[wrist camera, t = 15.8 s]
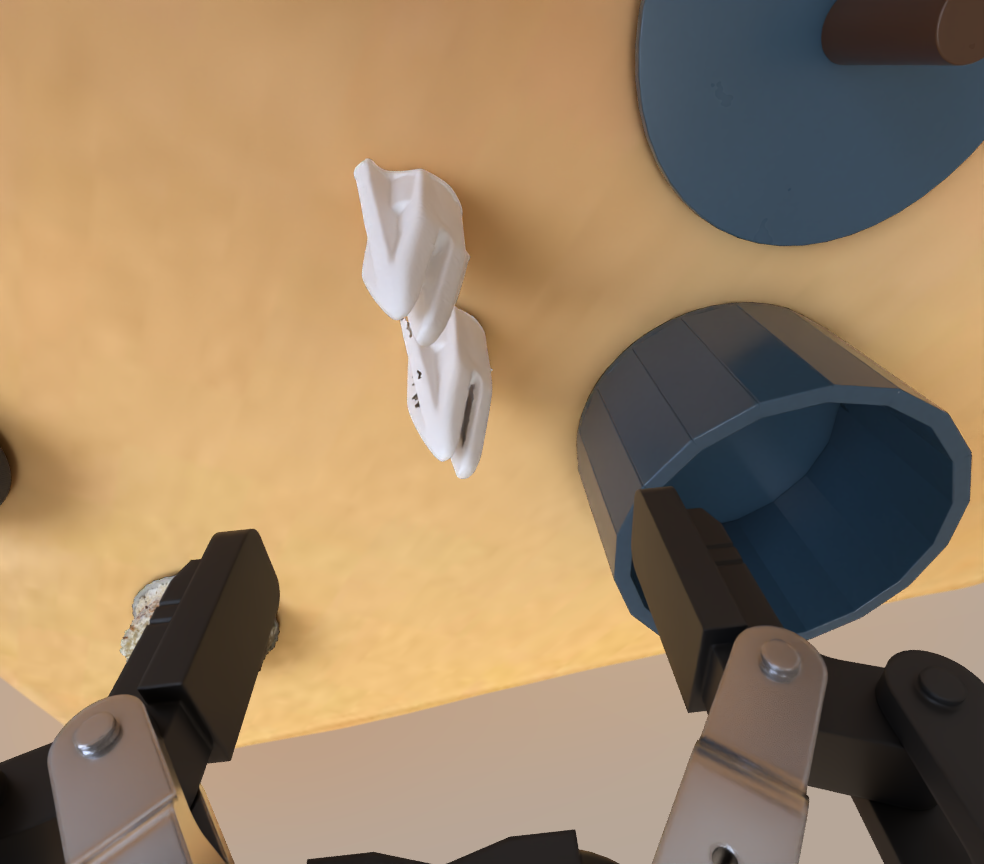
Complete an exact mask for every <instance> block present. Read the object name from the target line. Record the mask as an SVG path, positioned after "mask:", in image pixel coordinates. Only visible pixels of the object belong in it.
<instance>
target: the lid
mask: <svg viewBox="0 0 984 864" xmlns="http://www.w3.org/2000/svg"><path fill="white" fill-rule="evenodd" d="M635 80H636V89H637V98H638V107H639V111H640V116H641V120H642V124H643V128H644V132H645V136H646V139H647V141H648V144H649V147H650V149H651V152H652V154H653V157H654V160H655V161H656V163H657V165H658V167H659V169H660V170H661V172H662V174H663V176H664V178H665V179H666V181H667V183H668V184H669V185H670V186H671V188H672V189H673V190H674V192H675V193H676V194H677V195H678V197H679V198H680V199H681V200H682V201H683V202H684V203H685V204H686V205H687V206H688V207H689V208H690V209H691V210H692V211H693V212H694V213H696V214H697V215H698V216H700V217H701V218H703V219H704V220H706V221H707V222H708V223H710V224H711V225H713V226H714V227H716V228H718V229H720V230H722V231H724V232H726V233H728V234H731V235H733V236H735V237H737V238H741V239H744V240H748V241H751V242H755V243H759V244H767V245H776V246H803V245H809V244H816V243H822V242H828V241H831V240H835V239H838V238H842V237H845V236H849V235H852V234H854V233H857V232H859V231H862V230H864V229H867V228H869V227H872V226H874V225H876V224H878V223H880V222H882V221H884V220H886V219H888V218H889V217H891V216H893V215H895V214H897V213H899V212H900V211H902V210H903V209H905V208H906V207H908V206H910V205H911V204H913V203H914V202H916V201H917V200H919V199H920V198H922V197H923V196H924V195H926V194H927V193H928V192H929V191H931V190H932V189H933V188H934V187H936V186H937V185H938V184H940V183H941V182H942V181H943V180H945V179H946V178H947V177H948V176H949V175H950V174H951V173H952V172H953V171H954V170H956V169H957V168H958V167H959V166H960V165H961V164H962V163H963V162H964V161H965V160H966V159H967V158H968V157H969V156H970V155H971V154H972V153H973V152H974V151H975V150H976V149H977V147H978V146H979V145H980V144H981V143H982V142H983V141H984V0H641V4H640V8H639V15H638V25H637V34H636V43H635Z"/></svg>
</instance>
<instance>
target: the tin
mask: <svg viewBox="0 0 984 864" xmlns="http://www.w3.org/2000/svg"><path fill="white" fill-rule="evenodd" d="M971 453H972V452H971V451H970V449H969V447H968V445H967V444H966V442H965V440H964V439H963V437H962V435H961V434H960V432H959V430H958V429H957V427H956V425H955V424H954V422H953V420H952V418H951V417H950V415H949V414H948V413H947V412H946V411H944V410H943V409H941V408H940V407H939V406H937V405H936V404H934V403H933V402H931V401H930V400H928V399H927V398H926V397H924V396H923V395H921V394H920V393H918V392H917V391H916V390H914V389H913V388H911V387H910V386H908V385H907V384H905V383H904V382H903V381H901V380H900V379H898V378H897V377H895V376H894V375H893V374H891V373H890V372H888V371H887V370H885V369H884V368H882V367H881V366H880V365H878V364H877V363H875V362H874V361H872V360H871V359H870V358H868V357H867V356H865V355H864V354H862V353H861V352H859V351H858V350H857V349H855V348H854V347H852V346H851V345H849V344H848V343H847V342H845V341H844V340H842V339H841V338H839V337H838V336H837V335H835V334H834V333H832V332H831V331H829V330H828V329H826V328H824V327H823V326H821V325H819V324H817V323H815V322H813V321H811V320H810V319H808V318H806V317H805V316H803V315H801V314H799V313H797V312H794V311H792V310H790V309H789V308H783V307H779V306H775V305H771V304H764V303H754V302H742V303H727V304H721V305H714V306H709V307H706V308H702V309H698V310H695V311H691V312H689V313H686V314H684V315H681V316H679V317H676V318H674V319H671V320H670V321H668V322H666V323H664V324H662V325H660V326H658V327H657V328H655V329H653V330H651V331H650V332H649V333H647V334H646V335H644V336H643V337H641V338H640V339H638V340H637V341H636V342H634V343H633V344H632V345H631V346H630V347H629V348H627V349H626V350H625V351H624V352H623V353H622V354H620V356H619V357H618V358H617V359H616V360H615V361H614V362H613V363H612V364H611V365H610V366H609V367H608V369H607V370H606V371H605V373H604V374H603V375H602V377H601V378H600V379H599V381H598V382H597V384H596V385H595V387H594V389H593V391H592V393H591V394H590V396H589V398H588V400H587V402H586V405H585V407H584V410H583V413H582V415H581V419H580V423H579V428H578V434H577V459H578V471H579V474H580V477H581V480H582V483H583V486H584V489H585V492H586V495H587V498H588V501H589V504H590V508H591V511H592V514H593V517H594V520H595V523H596V526H597V529H598V532H599V535H600V538H601V541H602V544H603V547H604V550H605V553H606V556H607V560H608V563H609V566H610V569H611V572H612V575H613V578H614V581H615V583H616V585H617V587H618V589H619V591H620V593H621V595H622V597H623V599H624V601H625V603H626V606H627V608H628V610H629V612H630V614H631V615H632V616H634V617H635V618H636V619H638V620H639V621H640V622H642V623H643V624H644V625H646V626H647V627H648V628H650V629H651V630H652V631H654V632H655V633H657V634H658V635H659V633H658V631H657V628H656V625H655V622H654V620H653V617H652V614H651V612H650V609H649V606H648V604H647V601H646V598H645V596H644V593H643V590H642V587H641V585H640V582H639V579H638V577H637V574H636V571H635V568H634V564H633V559H632V551H631V536H632V523H633V509H634V496H635V492H636V490H638V489H648V488H657V487H667V486H672V487H674V488H675V490H676V491H677V493H678V495H679V497H680V499H681V500H682V502H683V504H684V506H685V508H686V509H693V508H702V509H704V510H705V511H706V512H707V513H709V514H710V515H711V516H712V517H714V518H715V519H716V520H718V521H719V522H720V523H721V524H722V526H723V527H724V529H725V531H726V532H727V534H728V536H729V537H730V539H731V541H732V542H733V547H736V549H737V551H738V552H739V554H740V556H741V557H742V561H743V563H745V564H746V566H747V567H748V569H749V571H750V572H751V574H752V576H753V577H754V579H755V581H756V582H757V584H758V586H759V587H760V589H761V591H762V592H763V594H764V596H765V598H766V599H767V601H768V603H769V604H770V606H771V608H772V609H773V611H774V613H775V614H776V616H777V618H778V619H779V621H780V623H781V624H782V625H783V627H784V628H785V629H787V630H790V631H792V632H794V633H796V634H798V635H799V636H801V637H803V638H804V639H805V640H809V639H812V638H814V637H816V636H819V635H821V634H824V633H826V632H828V631H831V630H833V629H836V628H838V627H840V626H843V625H845V624H847V623H850V622H852V621H855V620H857V619H859V618H861V617H863V616H865V615H866V614H868V613H869V612H871V611H872V610H874V609H875V608H877V607H878V606H880V605H881V604H883V603H884V602H886V601H887V600H889V599H890V598H892V597H893V596H895V595H896V594H898V593H899V592H900V591H902V590H903V589H905V588H906V587H908V586H909V585H910V584H911V583H912V582H913V581H914V580H915V579H916V578H917V577H918V576H919V575H920V574H921V573H922V572H923V570H924V569H925V568H926V567H927V566H928V565H929V564H930V563H931V562H932V561H933V560H934V559H935V558H936V557H937V556H938V555H939V554H940V552H941V551H942V550H943V549H944V548H945V547H946V546H947V545H948V543H949V541H950V539H951V537H952V535H953V533H954V531H955V529H956V527H957V525H958V523H959V521H960V519H961V517H962V515H963V513H964V511H965V509H966V507H967V505H968V503H969V501H970V486H971V461H972V455H971Z"/></svg>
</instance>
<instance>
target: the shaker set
mask: <svg viewBox="0 0 984 864" xmlns="http://www.w3.org/2000/svg"><path fill="white" fill-rule="evenodd" d="M354 178H355V179H356V182H357V188H358V192H359V198H360V202H361V207H362V213H363V218H364V224H365V228H366V232H367V237H368V240H367V246H366V251H365V256H364V261H363V268H362V278H363V281H364V283H365V285H366V288H367V289H368V291H369V293H370V294H371V296H372V297H373V299H374V300H375V301H376V303H377V304H378V305H379V306H380V307H381V309H382V310H383V311H384V312H385V313H386V314H387V315H388V316H389V317H391V318H392V319H394V320H400V323H401V327H402V332H403V337H404V341H405V345H406V349H407V354H408V388H407V404H408V411H409V414H410V416H411V418H412V421H413V423H414V425H415V427H416V429H417V431H418V433H419V434H420V436H421V438H422V439H423V441H424V442H425V444H426V446H427V447H428V448H429V450H430V451H431V452H432V454H433V455H434V456H435V457H436V458H437V459H438V460H440V461H446V460H448V459H450V458H451V461H452V464H453V467H454V470H455V472H456V475H457V477H458V478H460V479H465V478H468V477H470V476H471V475H472V474H473V473H474V471H475V470H476V467H477V465H478V463H479V460H480V457H481V453H482V448H483V443H484V438H485V433H486V427H487V422H488V416H489V410H490V404H491V398H492V378H491V371H492V370H493V369H491V368H490V363H489V356H488V350H487V343H486V336H485V332H484V330H483V328H482V326H481V325H480V324H479V323H478V321H477V319H475V318H474V317H473V316H472V315H469V314H468V313H467V312H465V311H462V310H461V309H459V310H458V308H457V307H455V304H456V301H457V298H458V295H459V293H460V290H461V287H462V283H463V279H464V276H465V272H466V269H467V265H468V261H469V260H470V255H469V254H468V252H467V251H466V248H465V239H464V230H463V222H462V214H463V212H462V206H461V203H460V201H459V199H458V197H457V195H456V194H455V192H454V190H453V189H452V188H451V187H450V186H449V185H448V184H447V183H446V182H445V181H443V180H442V179H440V178H439V177H437V176H436V175H434V174H432V173H430V172H428V171H426V170H424V169H414V170H407V171H389V170H385V169H382V168H380V167H379V166H378V165H377V164H376V163H375V162H374V161H373V160H371V159H367V158H366V159H365V160H364V161H362V162H361V163H360V164H358V165H357V166H356V168H355V171H354ZM406 316H407V317H408V321H409V322H407V321H406V318H405V319H404V317H406Z"/></svg>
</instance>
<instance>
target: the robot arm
mask: <svg viewBox="0 0 984 864" xmlns="http://www.w3.org/2000/svg"><path fill="white" fill-rule="evenodd" d="M631 551H632V559H633V564H634V568H635V571H636V574H637V577H638V579H639V582H640V585H641V587H642V590H643V593H644V596H645V598H646V601H647V604H648V606H649V609H650V612H651V614H652V617H653V620H654V622H655V625H656V628H657V631H658V633H659V636H660V639H661V641H662V644H663V647H664V649H665V652H666V655H667V657H668V660H669V663H670V665H671V668H672V670H673V674H674V676H675V679H676V682H677V684H678V687H679V690H680V692H681V695H682V698H683V700H684V703H685V706H686V709H687V711H688V713H691V712H700V711H707V714H708V717H707V721H706V723H705V726H704V729H703V731H702V734H701V737H700V739H699V740H697V742H696V744H695V746H694V749H693V751H692V753H691V756H690V759H689V762H688V764H687V767H686V770H685V773H684V776H683V778H682V781H681V784H680V787H679V789H678V792H677V795H676V798H675V801H674V803H673V806H672V809H671V812H670V814H669V817H668V820H667V823H666V826H665V828H664V831H663V834H662V837H661V840H660V842H659V845H658V848H657V851H656V854H655V857H654V859H653V862H652V864H798V863H799V857H800V853H801V847H802V842H803V836H804V830H805V825H806V820H807V814H808V807H809V797H808V796H807V795H806V792H807V786H812V787H816V788H820V789H825V790H829V791H833V792H837V793H842V794H846V795H850V796H851V797H852V799H853V801H854V803H855V805H856V807H857V809H858V811H859V813H860V815H861V817H862V820H863V822H864V823H865V826H866V828H867V830H868V832H869V834H870V836H871V838H872V840H873V842H874V844H875V846H876V848H877V850H878V852H879V854H880V856H881V858H882V860H883V862H884V864H984V683H983V682H981V680H980V679H979V678H978V677H976V676H975V675H974V674H973V673H972V672H970V671H969V670H968V669H966V668H965V667H963V666H962V665H960V664H958V663H957V662H955V661H952V660H951V659H948V658H946V657H944V656H941V655H938V654H935V653H931V652H928V651H921V650H908V651H902V652H900V653H897V654H895V655H894V656H892V657H891V658H890V659H889V661H888V663H887V665H886V667H885V668H882V667H877V666H871V665H866V664H860V663H854V662H849V661H843V660H838V659H834V658H830V657H827V656H824V655H821V654H819V652H818V651H817V650H816V649H815V647H814V646H812V645H811V644H810V643H809V642H808V641H807V640H805V639H804V638H803V637H801V636H799V635H798V634H796V633H794V632H792V631H790V630H787V629H785V628H784V627H783V625H782V624H781V623H780V621H779V619H778V618H777V616H776V614H775V613H774V611H773V609H772V608H771V606H770V604H769V603H768V601H767V599H766V598H765V596H764V594H763V592H762V591H761V589H760V587H759V586H758V584H757V582H756V581H755V579H754V577H753V576H752V574H751V572H750V571H749V569H748V567H747V566H746V564H745V563H743V561H742V557H741V556H740V554H739V552H738V551H737V549H736V547H733V542H732V541H731V539H730V537H729V536H728V534H727V532H726V531H725V529H724V527H723V526H722V524H721V523H720V522H719V521H718V520H716V519H715V518H714V517H712V516H711V515H710V514H709V513H707V512H706V511H705V510H704V509H702V508H693V509H686V508H685V506H684V504H683V502H682V500H681V499H680V497H679V495H678V493H677V491H676V490H675V488H674V487H672V486H667V487H657V488H648V489H638V490H636V492H635V496H634V509H633V523H632V536H631ZM279 600H280V590H279V583H278V579H277V576H276V574H275V571H274V569H273V566H272V564H271V561H270V559H269V556H268V554H267V552H266V549H265V547H264V544H263V542H262V539H261V537H260V535H259V533H258V532H257V531H256V530H255V529H246V530H237V531H227V532H218V533H216V534H214V536H213V537H212V539H211V540H210V542H209V544H208V546H207V548H206V550H205V552H204V554H203V556H202V558H201V559H197V560H191V561H190V562H189V563H188V564H187V565H186V566H185V567H184V568H183V569H182V570H181V571H180V572H179V573H178V574H177V575H176V576H175V577H174V578H173V579H172V580H171V581H170V583H169V585H168V586H167V588H166V590H165V592H164V594H163V596H162V598H161V599H160V601H159V607H156V609H155V611H154V613H153V614H152V616H151V618H150V620H149V621H150V624H149V625H147V626H146V627H145V629H144V631H143V633H142V635H141V637H140V639H139V640H138V642H137V644H136V646H135V648H134V650H133V652H132V653H131V655H130V657H129V659H128V661H127V663H126V665H125V667H124V668H123V670H122V672H121V674H120V676H119V678H118V680H117V681H116V683H115V685H114V687H113V689H112V691H111V693H110V694H109V696H108V697H106V698H104V699H101V700H99V701H97V702H95V703H93V704H91V705H89V706H88V707H86V708H85V709H83V710H82V711H80V712H79V713H78V714H77V715H75V716H74V717H73V718H72V719H71V720H70V721H69V722H68V723H67V724H66V725H65V726H64V727H63V728H62V730H61V731H60V732H59V734H58V735H57V736H56V738H55V740H54V741H53V742H52V743H50V744H48V745H45V746H42V747H40V748H37V749H34V750H32V751H29V752H27V753H24V754H22V755H19V756H16V757H14V758H11V759H9V760H6V761H4V762H1V763H0V864H234V861H233V858H232V856H231V853H230V851H229V849H228V846H227V844H226V841H225V839H224V836H223V834H222V831H221V829H220V827H219V824H218V822H217V819H216V817H215V814H214V812H213V810H212V807H211V805H210V802H209V800H208V797H207V795H206V792H205V790H204V788H203V786H202V785H201V783H200V782H201V779H202V777H203V774H204V771H205V768H206V765H207V763H216V762H225V761H230V760H231V758H232V755H233V752H234V748H235V745H236V742H237V739H238V736H239V732H240V729H241V726H242V723H243V720H244V716H245V713H246V710H247V707H248V704H249V700H250V697H251V694H252V691H253V687H254V684H255V681H256V678H257V675H258V671H259V668H260V665H261V662H262V659H263V655H264V652H265V649H266V646H267V643H268V639H269V636H270V633H271V630H272V627H273V623H274V620H275V617H276V614H277V610H278V607H279ZM307 864H429V863H424V862H420V861H415V860H409V859H405V858H400V857H395V856H390V855H386V854H381V853H376V852H370V853H360V854H351V855H342V856H334V857H324V858H316V859H308V860H307ZM447 864H619V863H617V862H615V861H613V860H611V859H609V858H607V857H604V856H601V855H598V854H595V853H593V852H589V851H584V850H579V849H578V843H577V837H576V831H575V830H567V831H558V832H549V833H540V834H530V835H522V836H513V837H508V838H506V839H504V840H501V841H499V842H496V843H494V844H492V845H489V846H487V847H485V848H482V849H480V850H478V851H476V852H473V853H471V854H469V855H466V856H464V857H461V858H459V859H457V860H454V861H452V862H450V863H447Z"/></svg>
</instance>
